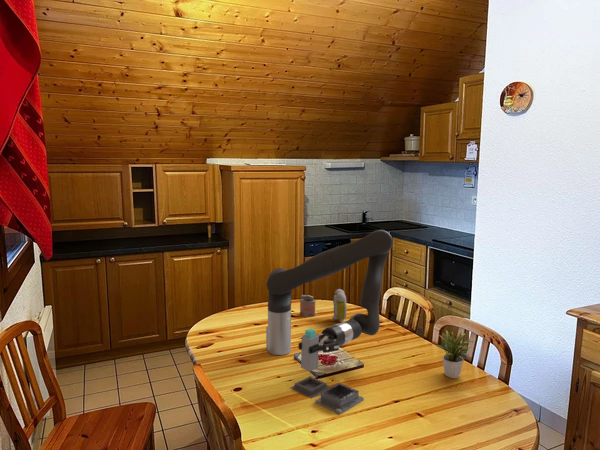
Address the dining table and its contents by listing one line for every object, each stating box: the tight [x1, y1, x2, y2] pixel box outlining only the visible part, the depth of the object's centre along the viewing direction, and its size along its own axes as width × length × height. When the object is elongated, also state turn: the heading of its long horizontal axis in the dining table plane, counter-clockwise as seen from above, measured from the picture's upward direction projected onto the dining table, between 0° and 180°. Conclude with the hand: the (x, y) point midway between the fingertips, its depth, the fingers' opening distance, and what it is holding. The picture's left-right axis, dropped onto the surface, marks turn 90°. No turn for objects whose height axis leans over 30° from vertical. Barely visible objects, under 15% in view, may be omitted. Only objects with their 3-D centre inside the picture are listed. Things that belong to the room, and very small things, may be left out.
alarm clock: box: [330, 288, 347, 323], centre depth 219 cm, size 12×7×15 cm, turn 179°
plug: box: [300, 328, 319, 372], centre depth 153 cm, size 4×4×13 cm
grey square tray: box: [289, 375, 331, 400], centre depth 155 cm, size 10×10×2 cm
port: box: [314, 382, 365, 415], centre depth 146 cm, size 10×12×4 cm
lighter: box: [299, 294, 317, 317], centre depth 229 cm, size 8×3×10 cm, turn 71°
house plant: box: [435, 329, 475, 379], centre depth 163 cm, size 14×14×16 cm
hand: (304, 348), depth 151 cm, fingers closed on plug, 4 cm apart
